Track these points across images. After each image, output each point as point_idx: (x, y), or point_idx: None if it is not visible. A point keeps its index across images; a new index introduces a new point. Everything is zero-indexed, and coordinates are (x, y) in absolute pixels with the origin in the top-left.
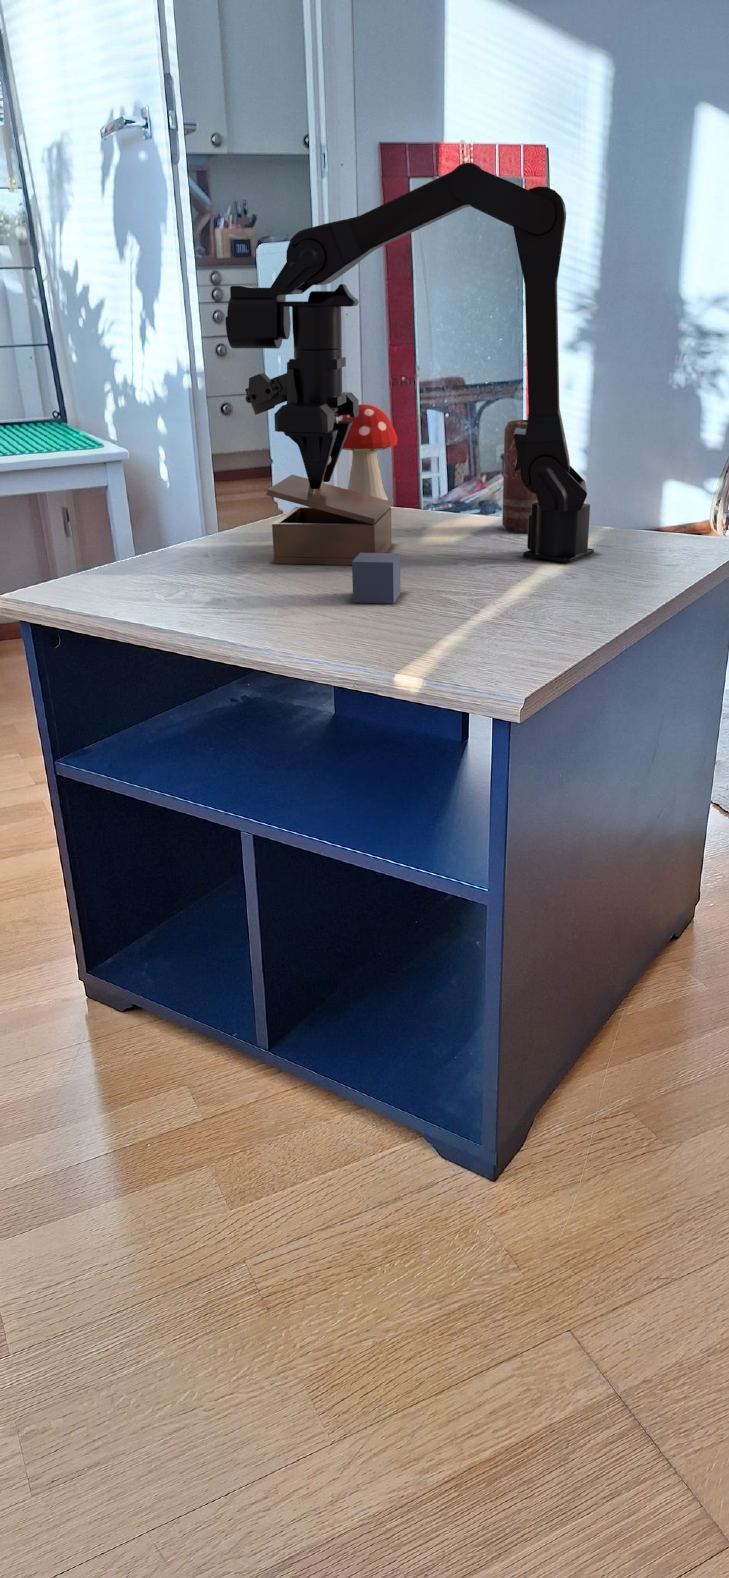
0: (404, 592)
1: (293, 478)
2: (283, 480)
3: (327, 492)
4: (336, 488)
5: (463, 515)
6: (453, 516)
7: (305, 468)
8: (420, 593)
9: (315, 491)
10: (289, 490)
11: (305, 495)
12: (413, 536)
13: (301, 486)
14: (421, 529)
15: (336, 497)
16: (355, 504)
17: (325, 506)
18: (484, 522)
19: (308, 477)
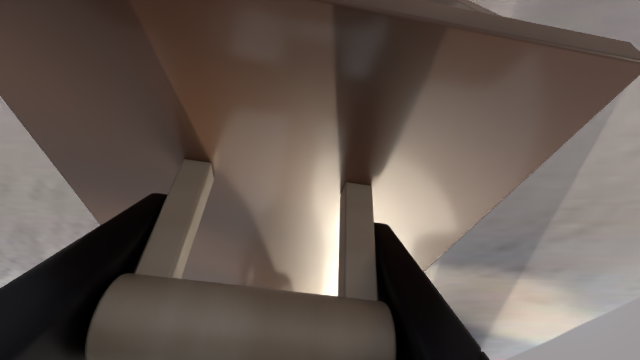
0: (4, 234)
1: (500, 82)
2: (369, 18)
3: (313, 214)
4: (425, 235)
5: (600, 315)
6: (603, 305)
7: (39, 264)
8: (11, 251)
9: (272, 183)
10: (110, 78)
11: (130, 151)
12: (449, 254)
13: (310, 131)
14: (511, 265)
15: (266, 232)
16: (241, 261)
17: (87, 204)
18: (520, 330)
19: (102, 227)
